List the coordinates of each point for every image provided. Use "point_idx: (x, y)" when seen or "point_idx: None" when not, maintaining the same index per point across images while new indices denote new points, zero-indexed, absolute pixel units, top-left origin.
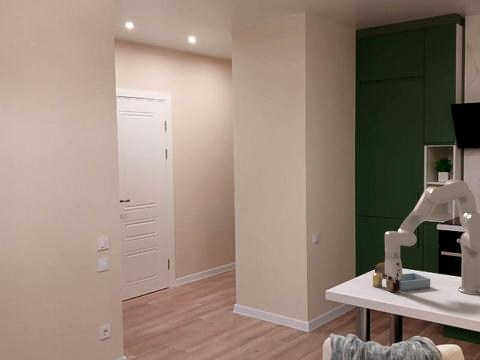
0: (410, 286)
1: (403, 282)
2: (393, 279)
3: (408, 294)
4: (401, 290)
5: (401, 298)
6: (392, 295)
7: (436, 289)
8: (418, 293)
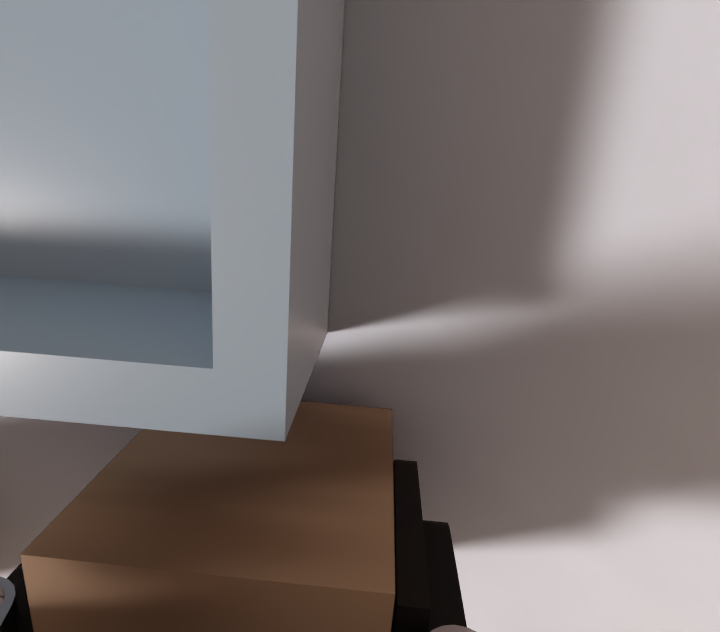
0: (328, 36)
1: (294, 321)
2: (76, 622)
3: (584, 335)
4: (326, 321)
5: (706, 599)
6: (487, 616)
7: None
8: (646, 63)
